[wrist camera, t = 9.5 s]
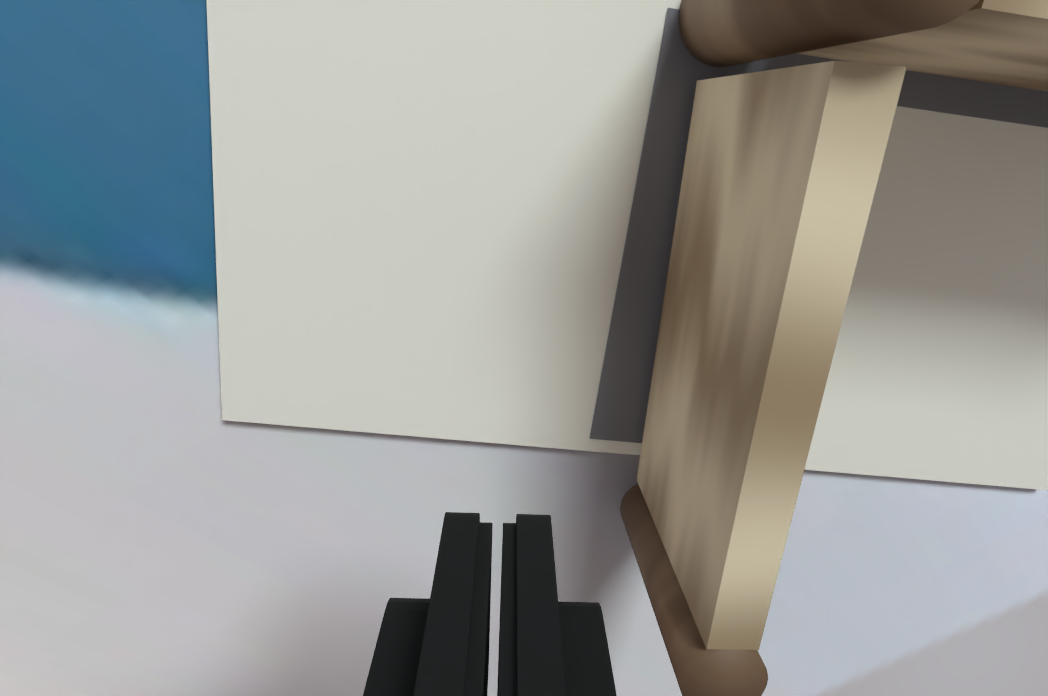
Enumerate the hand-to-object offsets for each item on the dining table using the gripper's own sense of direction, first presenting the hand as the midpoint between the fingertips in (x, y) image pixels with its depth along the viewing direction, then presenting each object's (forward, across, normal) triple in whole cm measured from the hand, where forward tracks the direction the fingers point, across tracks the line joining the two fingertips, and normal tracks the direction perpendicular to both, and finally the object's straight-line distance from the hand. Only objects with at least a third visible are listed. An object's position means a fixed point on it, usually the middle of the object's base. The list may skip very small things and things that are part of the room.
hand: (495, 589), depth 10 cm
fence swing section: (+10, -5, -1) cm, 11 cm away
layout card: (+11, -6, -6) cm, 13 cm away
